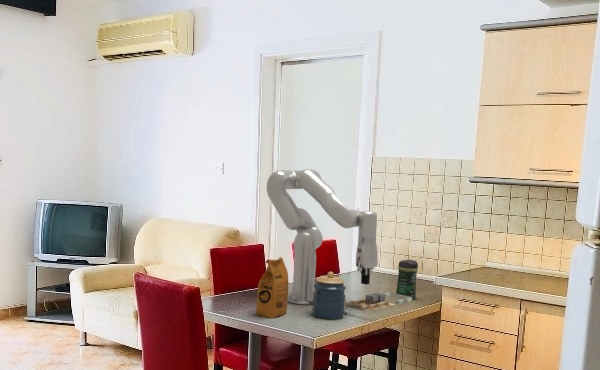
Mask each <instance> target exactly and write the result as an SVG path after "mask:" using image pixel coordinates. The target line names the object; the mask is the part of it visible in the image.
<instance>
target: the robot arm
mask: <svg viewBox="0 0 600 370" xmlns="http://www.w3.org/2000/svg"><path fill="white" fill-rule="evenodd" d="M287 190H304V191H306V192H307V194H308V195H309V196H311V197H312V198H313V199H314V201H316V202H317V203H318V204H319V206H321V208H322V209H323V210H324V212H326V214H327V215H328V216H329V217H330V218H331V219H332V220H333V221H334V222H335V223H336V224H338V225H339V226H340V227H341V228H344V229H350V228H356V227H357V228H358V230H357V231H358V234H357V238H358V239H357V246H356V254H355V267H357V268H356V270H357V271H358V272H360V275H361V276H360V279H361V280H360V283H361V285H370V279H371V278H370V276H371V273H372V270H374V269H375V268H376V267H378V254H379V253H378V246H377V244H378V243H377V227H378V226H377V225H378V224H377V223H378V214H377V213H376V211H372V210H371V211H368V210H367V211H365V210H364V211H361V210H356V209H348V207H346V206H345V205H344V204H343V203H342V202H341V201H340V200H339V199H338V196H336V192H335V191H334V189H333V188H332V187H331V186H330V185H329V184H327V183H326V182H325V181H324V180H323V179H322V177H321V174H320V173H319V172H318V171H317V170H315V169H308V168H305V169H303V170H285V169H284V170H283V169H279V170H275V171H273V172H272V173H271V174H270V176H269V177H268V179H267V182H266V193H267V196H268V198H269V200H270V202H271V203H272V205H273V206H274V209H275V210H276V211H277V213H278V216H279V217H280V219H281V220H282V221H283V224H284V225H285V227H286V228H287V229H289V230H290V231H296V233H297V234H296V235H295V237H294V240H293V250H294V252H293V253H294V257H293V276H292V290H291V291H290V293H288V299H287V302H289V303H292V304H295V305H303V306H304V305H305V306H306V305H308V306H309V305H313V293H314V291H315V287H314V284H315V283H316V282H315V281H316V269H317V253H316V249H318V248H320V247H321V245H322V243H323V239H324V237H323V235H322V234H323V233H322V231H321V230H320V229H319V227H318V224H316V222H315V221H314V219H313V217H312V216H311V214H310V213H309V212H308V211H307V210H306V209H304V208H300V207H298V206H297V205H296V203H295V201H294V200H293V198H292V197H291V195H290V194H289V193H288V191H287Z"/></svg>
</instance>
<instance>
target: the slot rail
mask: <svg viewBox="0 0 600 370" xmlns="http://www.w3.org/2000/svg"><path fill="white" fill-rule="evenodd" d="M384 294H385V298H388V297H393V298H397V300H395V303H391V302H389V301H388V300H387V301H386V300H385V302H380V303H376V304H371V305H367V304H365V298H362V299H357V300H351V301H347V302H345V304H344V307H349V308H353V309H357V310H360V311H364V312H368V311H373V310H377V309H382V308H387V307H390V306H391V307H392V306H396V305H401V304H404V303H408V302H413V300H414V299H413V297H408V296H404V295H400V294H396V292H385V293H384Z"/></svg>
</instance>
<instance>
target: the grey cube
mask: <svg viewBox="0 0 600 370" xmlns="http://www.w3.org/2000/svg"><path fill="white" fill-rule="evenodd" d="M372 294H374V295H378V296H379V299H378V303H380V302H385V301H386V297H385V293H380V292H375V293H372Z"/></svg>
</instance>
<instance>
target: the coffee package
mask: <svg viewBox="0 0 600 370" xmlns="http://www.w3.org/2000/svg"><path fill="white" fill-rule="evenodd" d="M265 263H266V264H267V265H268V266H266V270H265V272H264V273H263V274H262V276H261V278H260V279H259V282H258V285H257V293H256V295H257V297H256V298H257V299H256V305H255V307H256V308H255V311H256V312H255V313H256V315H257V316H262V317H266V318H270V319H274V318H277V317H282V316H284V315H285V314H287V309H288V294H289V272H288V269H287V266H286V264H285V262H284V259H283V257H282V256H280V257H278V259H266V260H265Z"/></svg>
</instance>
